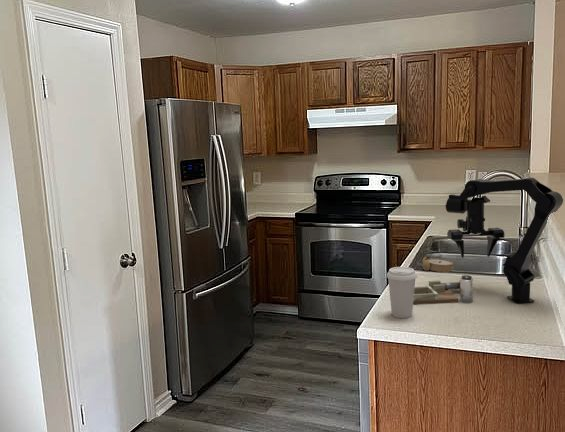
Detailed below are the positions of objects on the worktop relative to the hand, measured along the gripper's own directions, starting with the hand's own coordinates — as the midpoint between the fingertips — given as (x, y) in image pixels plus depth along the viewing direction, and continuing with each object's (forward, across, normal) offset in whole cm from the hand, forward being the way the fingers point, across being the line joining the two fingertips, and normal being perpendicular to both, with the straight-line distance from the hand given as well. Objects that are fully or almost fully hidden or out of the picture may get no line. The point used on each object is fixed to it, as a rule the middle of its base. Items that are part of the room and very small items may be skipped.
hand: (475, 257), depth 185 cm
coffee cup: (+13, +31, +22) cm, 40 cm away
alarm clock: (+13, +6, -32) cm, 35 cm away
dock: (+13, +18, +5) cm, 23 cm away
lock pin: (+12, +9, 0) cm, 15 cm away
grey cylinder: (+13, +7, +11) cm, 18 cm away
